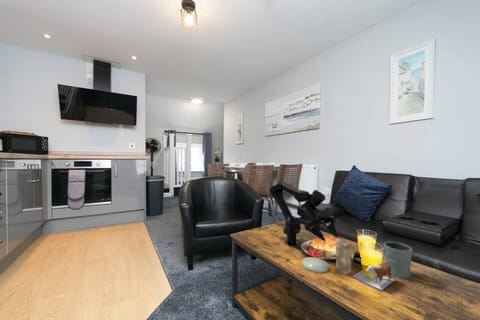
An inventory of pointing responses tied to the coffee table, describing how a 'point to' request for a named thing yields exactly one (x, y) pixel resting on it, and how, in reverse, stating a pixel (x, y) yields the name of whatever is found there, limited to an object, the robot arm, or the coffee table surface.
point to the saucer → (315, 265)
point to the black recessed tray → (354, 260)
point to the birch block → (343, 256)
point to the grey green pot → (398, 258)
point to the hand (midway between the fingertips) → (331, 238)
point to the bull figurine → (380, 271)
